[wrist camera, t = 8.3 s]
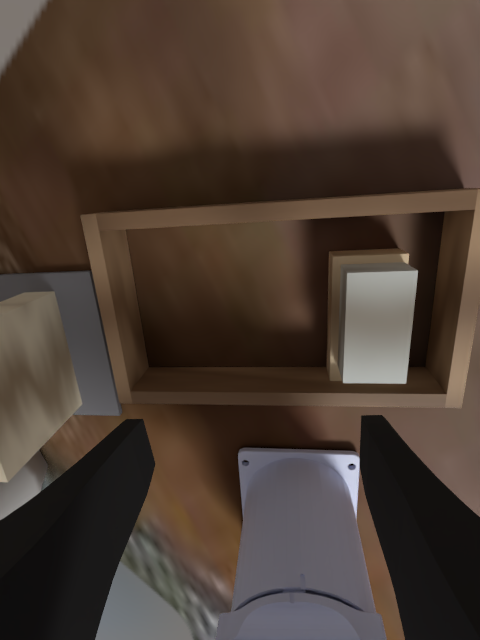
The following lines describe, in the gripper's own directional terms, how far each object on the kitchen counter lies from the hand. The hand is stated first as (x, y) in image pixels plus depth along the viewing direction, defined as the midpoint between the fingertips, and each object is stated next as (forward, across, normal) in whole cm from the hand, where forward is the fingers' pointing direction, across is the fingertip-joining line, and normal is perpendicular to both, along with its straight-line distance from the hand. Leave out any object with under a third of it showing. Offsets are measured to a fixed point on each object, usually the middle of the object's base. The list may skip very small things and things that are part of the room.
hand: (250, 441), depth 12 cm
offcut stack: (+10, -6, 0) cm, 12 cm away
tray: (+10, -1, -1) cm, 10 cm away
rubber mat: (+10, +14, +1) cm, 17 cm away
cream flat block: (+10, +14, +2) cm, 17 cm away
